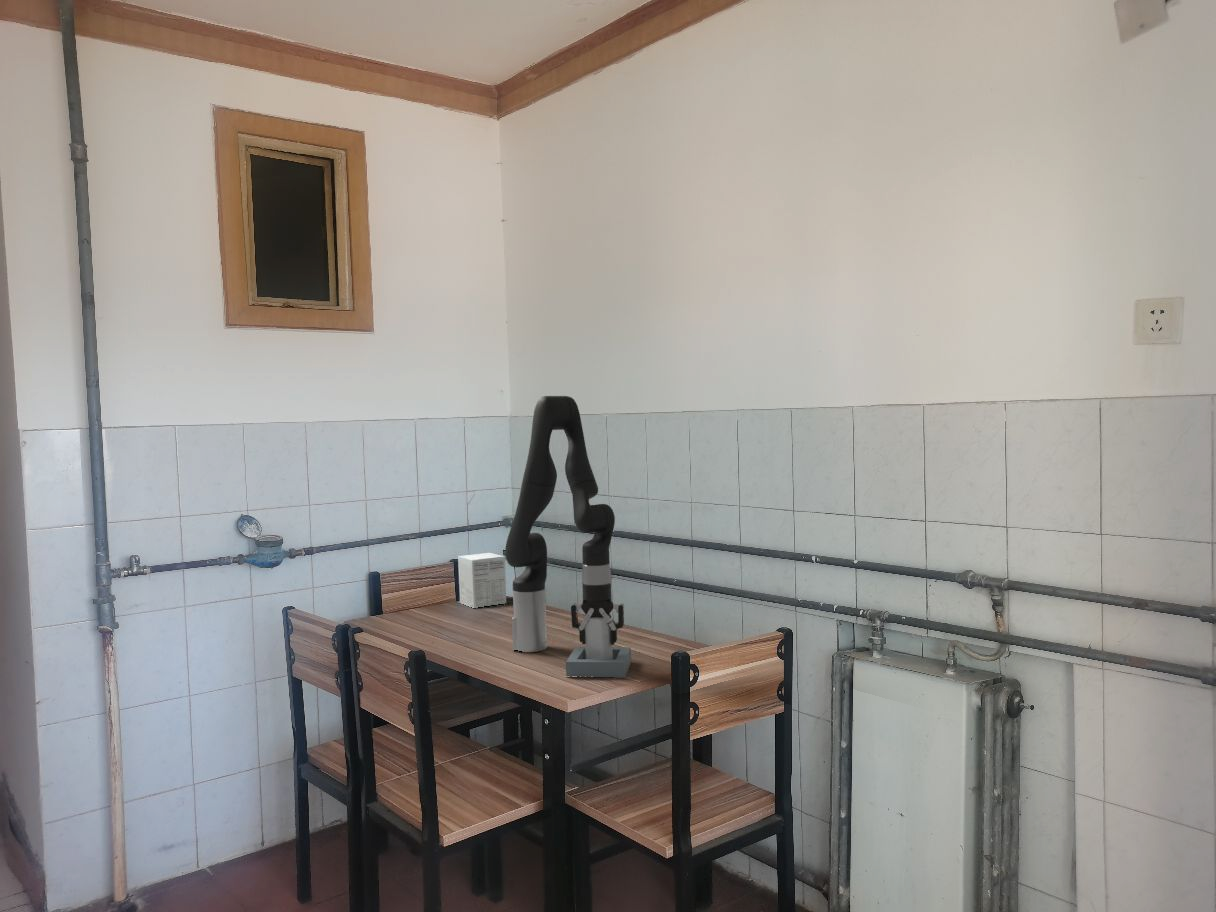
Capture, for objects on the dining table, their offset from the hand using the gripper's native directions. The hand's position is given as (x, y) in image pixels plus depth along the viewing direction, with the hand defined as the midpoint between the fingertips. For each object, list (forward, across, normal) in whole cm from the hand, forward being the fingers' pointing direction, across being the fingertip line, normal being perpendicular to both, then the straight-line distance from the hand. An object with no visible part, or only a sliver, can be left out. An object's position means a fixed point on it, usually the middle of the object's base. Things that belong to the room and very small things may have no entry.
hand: (598, 643), depth 237 cm
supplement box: (+7, -55, +85) cm, 101 cm away
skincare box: (+5, 0, 0) cm, 5 cm away
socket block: (+7, 0, 0) cm, 7 cm away
